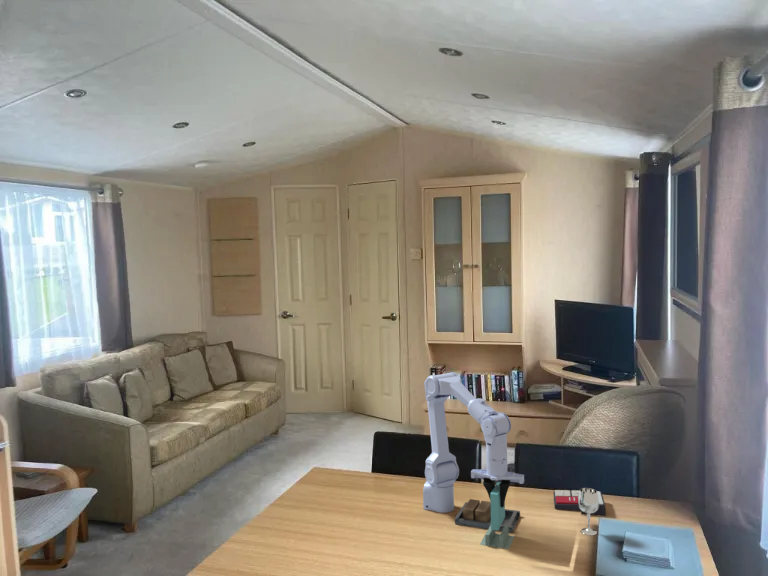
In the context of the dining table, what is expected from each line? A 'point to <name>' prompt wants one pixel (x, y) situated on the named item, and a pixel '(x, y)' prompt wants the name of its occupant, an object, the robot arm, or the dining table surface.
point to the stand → (498, 538)
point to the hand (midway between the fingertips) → (497, 505)
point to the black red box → (575, 501)
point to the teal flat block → (496, 508)
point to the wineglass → (588, 506)
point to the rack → (509, 519)
